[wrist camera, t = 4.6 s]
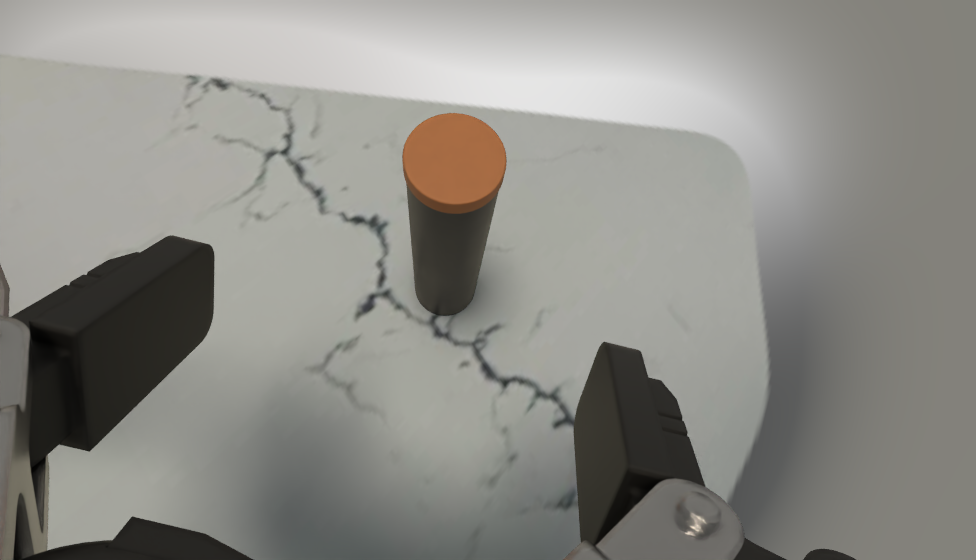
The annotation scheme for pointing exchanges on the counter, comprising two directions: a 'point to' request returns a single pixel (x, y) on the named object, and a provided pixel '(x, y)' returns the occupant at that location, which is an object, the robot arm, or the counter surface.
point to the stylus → (451, 205)
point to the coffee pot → (4, 295)
